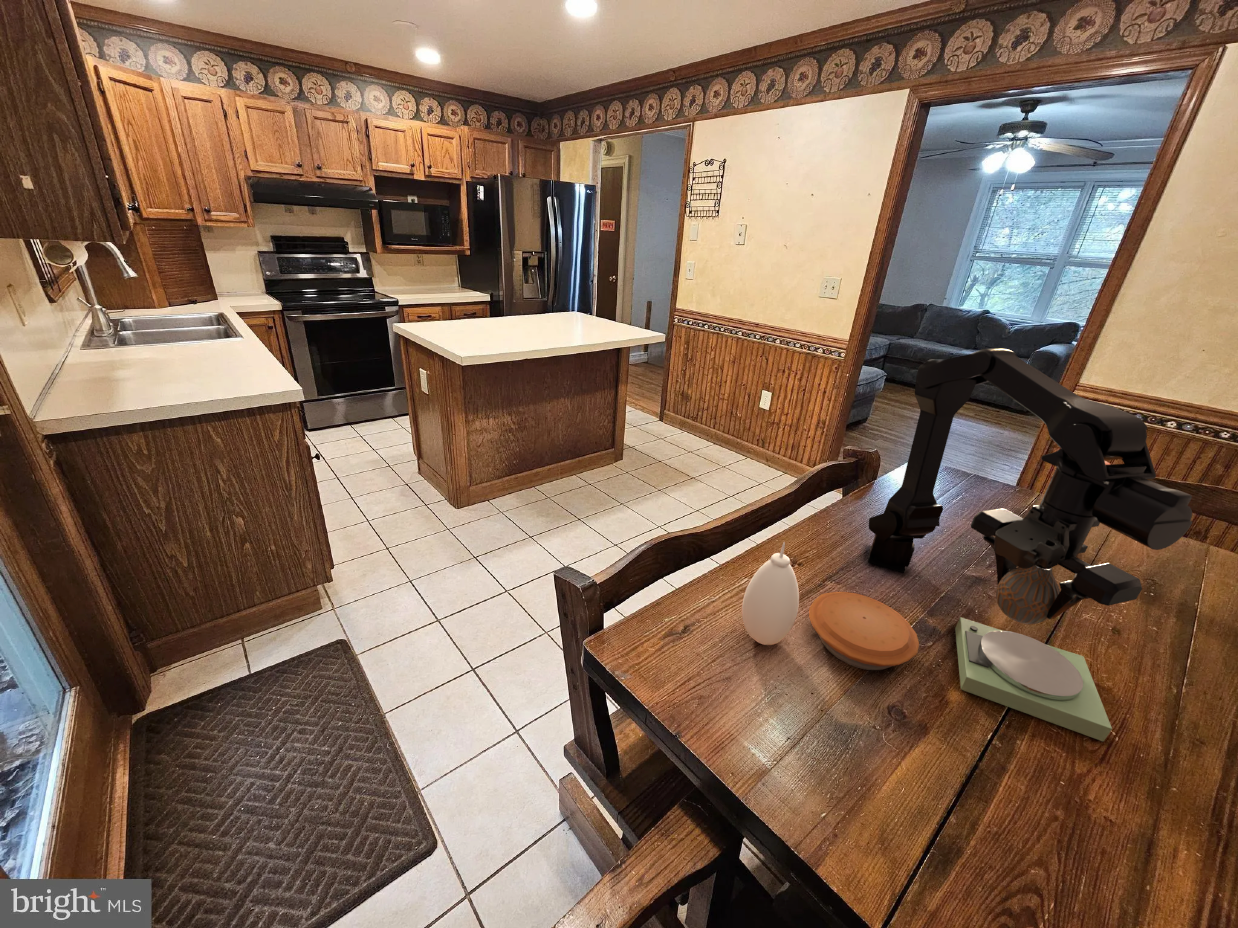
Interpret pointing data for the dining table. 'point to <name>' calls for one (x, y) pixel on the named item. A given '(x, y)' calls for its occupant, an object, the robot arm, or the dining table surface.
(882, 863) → the dining table surface
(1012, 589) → the vase
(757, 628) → the sauce bottle
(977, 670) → the scale
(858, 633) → the pie
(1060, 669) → the scale pan
